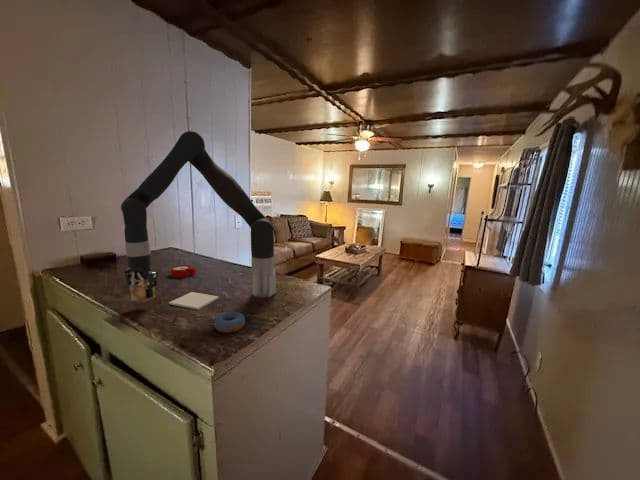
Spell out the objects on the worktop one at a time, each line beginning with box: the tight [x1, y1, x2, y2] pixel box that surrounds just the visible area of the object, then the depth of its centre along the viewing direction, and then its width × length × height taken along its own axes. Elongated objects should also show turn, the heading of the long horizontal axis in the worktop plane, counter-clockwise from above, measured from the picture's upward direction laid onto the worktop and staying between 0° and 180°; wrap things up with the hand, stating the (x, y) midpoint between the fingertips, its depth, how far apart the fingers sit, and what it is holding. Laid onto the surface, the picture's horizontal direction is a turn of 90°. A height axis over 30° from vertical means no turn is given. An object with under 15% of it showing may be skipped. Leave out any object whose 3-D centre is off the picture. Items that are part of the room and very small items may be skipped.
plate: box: [168, 291, 220, 311], centre depth 112 cm, size 14×12×1 cm
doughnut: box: [213, 311, 246, 334], centre depth 92 cm, size 10×10×5 cm
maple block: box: [129, 281, 157, 303], centre depth 104 cm, size 6×6×6 cm
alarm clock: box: [167, 264, 197, 279], centre depth 144 cm, size 10×6×15 cm
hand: (143, 296), depth 104 cm, fingers closed on maple block, 5 cm apart
